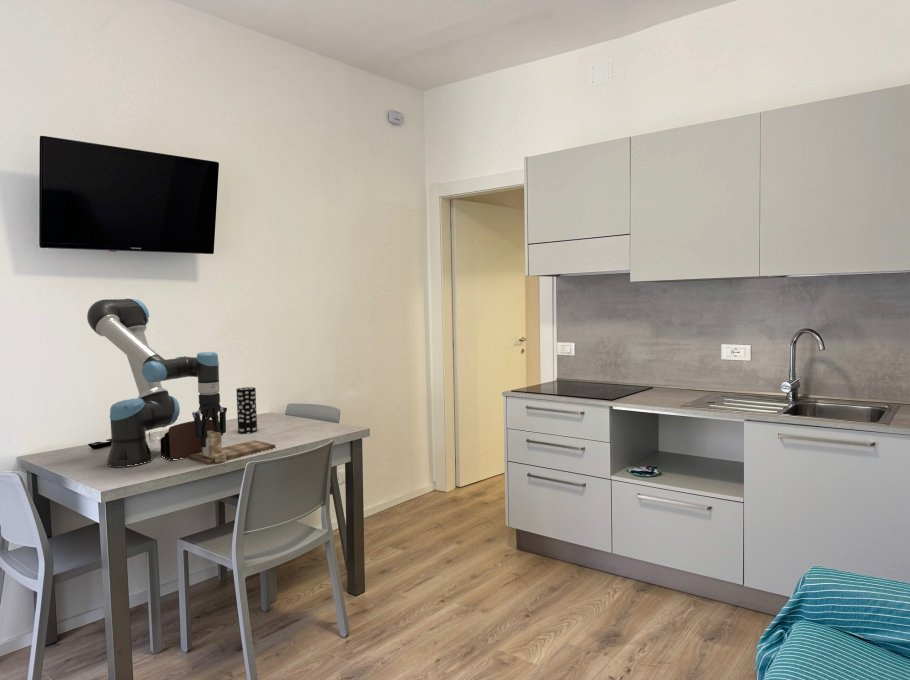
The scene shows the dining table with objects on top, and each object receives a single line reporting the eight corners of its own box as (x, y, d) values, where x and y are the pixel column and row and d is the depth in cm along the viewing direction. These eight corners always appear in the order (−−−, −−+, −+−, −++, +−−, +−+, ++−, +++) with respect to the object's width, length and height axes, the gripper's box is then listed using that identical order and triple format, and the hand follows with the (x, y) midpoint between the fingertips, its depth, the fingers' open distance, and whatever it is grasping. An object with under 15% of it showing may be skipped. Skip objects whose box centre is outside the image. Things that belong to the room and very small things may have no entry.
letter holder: (220, 452, 260) (219, 417, 259) (170, 461, 246) (168, 425, 245) (210, 448, 267) (208, 414, 266) (160, 457, 253) (158, 421, 252)
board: (209, 464, 240) (209, 460, 240) (188, 459, 249) (188, 455, 249) (275, 448, 264) (275, 444, 264) (254, 443, 273) (254, 440, 273)
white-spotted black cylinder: (238, 434, 291) (237, 390, 290) (237, 430, 299) (235, 388, 298) (258, 432, 295) (256, 389, 293) (256, 429, 302) (254, 386, 301)
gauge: (216, 462, 241) (215, 435, 240) (194, 456, 250) (193, 430, 249) (226, 460, 244) (225, 433, 243) (204, 454, 253) (203, 429, 252)
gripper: (193, 397, 235) (196, 460, 237) (234, 390, 249) (237, 450, 251) (182, 395, 240) (185, 457, 242) (223, 389, 253) (225, 448, 255)
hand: (211, 453), depth 246 cm, fingers closed on gauge, 4 cm apart
